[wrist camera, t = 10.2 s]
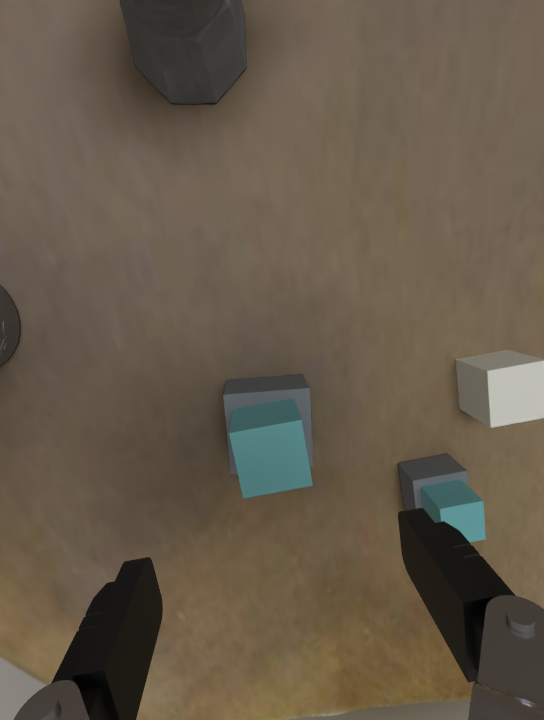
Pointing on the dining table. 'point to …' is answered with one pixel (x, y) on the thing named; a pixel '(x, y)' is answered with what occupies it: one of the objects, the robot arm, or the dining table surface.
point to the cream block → (501, 387)
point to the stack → (443, 494)
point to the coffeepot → (187, 46)
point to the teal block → (269, 448)
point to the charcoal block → (265, 392)
